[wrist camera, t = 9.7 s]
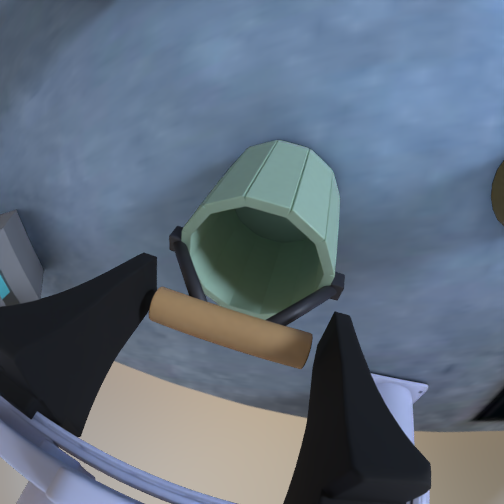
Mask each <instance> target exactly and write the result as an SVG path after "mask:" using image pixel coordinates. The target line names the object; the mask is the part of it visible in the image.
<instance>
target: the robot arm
mask: <svg viewBox="0 0 504 504" xmlns="http://www.w3.org/2000/svg"><path fill="white" fill-rule="evenodd" d="M156 291H157V257H155V256H152V255H149V254H146V253H142V254H140V255H138V256H136V257H134V258H132V259H130V260H128V261H126V262H125V263H123V264H121V265H119V266H117V267H115V268H113V269H111V270H110V271H108V272H106V273H104V274H102V275H100V276H98V277H96V278H94V279H92V280H89V281H87V282H85V283H83V284H81V285H79V286H76V287H74V288H72V289H69V290H66V291H64V292H61V293H58V294H55V295H52V296H49V297H45V298H42V299H39V300H35V301H31V302H26V303H22V304H16V305H10V306H2V307H0V457H1V458H2V459H3V460H5V461H6V462H7V463H8V464H9V465H10V466H12V467H13V468H14V469H15V470H16V471H18V472H19V473H20V474H21V475H22V476H24V477H25V478H26V479H28V480H29V482H28V483H27V485H26V487H25V489H24V490H23V492H22V494H21V496H20V498H19V499H18V501H17V503H16V504H144V503H142V502H139V501H137V500H135V499H133V498H131V497H128V496H126V495H124V494H122V493H120V492H118V491H116V490H114V489H111V488H110V487H108V486H106V485H104V484H102V483H100V482H98V481H96V480H95V477H94V476H93V475H91V474H90V473H89V472H87V471H86V470H85V469H84V468H83V467H82V466H81V465H80V463H79V462H78V461H76V460H75V459H73V458H72V457H70V456H69V455H68V454H66V453H65V452H63V451H62V450H61V449H63V450H65V451H66V452H68V453H69V454H71V455H73V456H74V457H76V458H77V459H79V460H81V461H83V462H84V463H86V464H88V465H90V466H91V467H93V468H95V469H97V470H99V471H101V472H103V473H104V474H106V475H108V476H110V477H112V478H114V479H116V480H118V481H120V482H122V483H124V484H126V485H129V486H131V487H133V488H135V489H137V490H140V491H142V492H144V493H146V494H149V495H151V496H154V497H156V498H159V499H161V500H164V501H166V502H169V503H171V504H237V503H233V502H230V501H226V500H222V499H219V498H215V497H212V496H209V495H206V494H202V493H199V492H196V491H193V490H191V489H188V488H185V487H182V486H179V485H177V484H174V483H171V482H169V481H166V480H164V479H161V478H159V477H156V476H154V475H151V474H149V473H147V472H145V471H142V470H140V469H138V468H136V467H133V466H131V465H129V464H127V463H125V462H123V461H121V460H119V459H117V458H115V457H113V456H111V455H109V454H107V453H105V452H103V451H101V450H99V449H97V448H96V447H94V446H92V445H90V444H88V443H86V442H85V441H83V440H81V439H80V438H78V437H80V436H81V434H82V431H83V428H84V426H85V423H86V420H87V417H88V415H89V412H90V410H91V407H92V405H93V402H94V400H95V398H96V396H97V393H98V391H99V389H100V387H101V385H102V383H103V381H104V379H105V377H106V375H107V373H108V371H109V369H110V367H111V365H112V363H113V362H114V360H115V358H116V357H117V355H118V353H119V352H120V350H121V349H122V348H123V346H124V345H125V343H126V342H127V341H128V339H129V338H130V336H131V335H132V334H133V332H134V331H135V330H136V328H137V327H138V325H139V324H140V323H141V321H142V320H143V318H144V317H145V315H146V314H147V312H148V310H149V308H150V304H151V301H152V298H153V296H154V294H155V292H156ZM427 390H428V385H427V384H423V383H417V382H412V381H407V380H401V379H396V378H391V377H387V376H382V375H377V374H373V373H370V370H369V368H368V366H367V363H366V360H365V358H364V355H363V353H362V350H361V347H360V344H359V342H358V339H357V336H356V333H355V330H354V327H353V323H352V320H351V318H350V316H349V315H346V314H342V313H338V312H334V314H333V316H332V318H331V320H330V322H329V324H328V326H327V328H326V330H325V332H324V334H323V336H322V338H321V339H320V341H319V343H318V345H317V350H316V354H315V359H314V364H313V370H312V380H311V390H310V400H309V410H308V418H307V424H306V429H305V434H304V438H303V441H302V446H301V449H300V453H299V457H298V460H297V464H296V468H295V471H294V474H293V477H292V480H291V483H290V486H289V490H288V492H287V495H286V498H285V500H284V503H283V504H429V490H430V488H431V466H430V463H429V461H428V460H427V459H426V458H425V457H424V456H423V455H422V454H421V453H420V451H419V450H418V449H417V448H416V447H415V446H414V423H413V407H412V404H414V403H415V402H416V401H417V400H418V399H419V398H420V397H421V396H422V395H423V394H424V393H425V392H426V391H427ZM59 447H60V448H61V449H59Z"/></svg>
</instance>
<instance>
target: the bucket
mask: <svg viewBox="0 0 504 504" xmlns="http://www.w3.org/2000/svg"><path fill="white" fill-rule="evenodd" d="M339 210H340V195H339V191H338V187H337V183H336V179H335V176H334V172H333V171H332V169H331V168H330V167H329V166H328V165H327V164H326V163H325V162H324V161H323V160H322V159H321V158H320V157H319V156H318V155H317V154H316V153H314V152H313V151H312V150H311V149H310V150H309V148H307V147H304V146H300V145H296V144H293V143H289V142H285V141H281V140H279V141H278V140H274V141H271V142H267V143H263V144H259V145H255V146H252V147H249V148H247V149H246V150H245V151H244V153H243V154H242V155H241V156H240V157H239V158H238V159H237V160H236V161H235V162H234V164H233V165H232V166H231V167H230V168H229V169H228V171H227V172H226V173H225V174H224V176H223V177H222V178H221V179H220V181H219V182H218V183H217V184H216V186H215V187H214V188H213V189H212V191H211V192H210V193H209V194H208V196H207V197H206V198H205V200H204V201H203V202H202V203H201V205H200V206H199V207H198V209H197V210H196V211H195V213H194V214H193V215H192V217H191V218H190V219H189V221H188V222H187V223H186V224H185V226H184V227H180V226H177V227H176V228H175V229H174V231H173V232H172V233H171V235H170V236H169V241H170V250H171V251H175V253H176V256H177V259H178V263H179V266H180V269H181V272H182V275H183V278H184V281H185V284H186V287H187V290H188V293H189V296H188V295H185V294H182V293H179V292H176V291H174V290H171V289H168V288H165V287H160V288H159V289H158V290H157V291H156V292H155V294H154V296H153V298H152V301H151V304H150V308H149V318H150V320H152V321H154V322H156V323H159V324H162V325H164V326H167V327H170V328H172V329H175V330H178V331H181V332H183V333H186V334H189V335H192V336H195V337H197V338H200V339H203V340H206V341H209V342H212V343H215V344H218V345H221V346H224V347H227V348H230V349H233V350H236V351H240V352H243V353H246V354H249V355H253V356H256V357H259V358H263V359H266V360H269V361H273V362H276V363H280V364H284V365H287V366H291V367H294V368H298V369H302V368H303V367H304V365H305V363H306V361H307V358H308V356H309V352H310V349H311V345H312V334H311V333H308V332H304V331H301V330H297V329H294V328H290V327H287V326H286V325H288V324H290V323H291V322H293V321H294V320H296V319H298V318H299V317H301V316H303V315H304V314H306V313H307V312H309V311H311V310H312V309H314V308H315V307H317V306H319V305H320V304H322V303H323V302H325V301H326V300H328V299H329V298H330V299H333V300H338V298H339V297H340V295H341V293H342V291H343V289H344V279H345V275H344V274H340V273H337V272H335V267H336V255H337V242H338V227H339ZM205 295H206V296H208V297H209V298H210V299H212V300H213V301H215V302H216V303H217V304H219V305H220V306H218V305H215V304H212V303H209V302H207V299H206V296H205Z"/></svg>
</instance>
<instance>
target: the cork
mask: <svg viewBox="0 0 504 504" xmlns="http://www.w3.org/2000/svg"><path fill="white" fill-rule="evenodd" d="M491 200H492V207H493V211H494V213H495V215H496V217H497V220H498V221H499V222H500V223H501V224H502V225H503V226H504V161H503V162H502V164H501V165H500V167H499V168H498V170H497V172H496V175H495V178H494V181H493V183H492V193H491Z"/></svg>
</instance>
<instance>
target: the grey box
mask: <svg viewBox="0 0 504 504" xmlns="http://www.w3.org/2000/svg"><path fill="white" fill-rule="evenodd" d="M43 273H44V269H43V267H42V265H41V263H40V261H39V259H38V257H37V255H36V253H35V251H34V249H33V247H32V245H31V242H30V240H29V238H28V236H27V234H26V231H25V229H24V227H23V224H22V222H21V220H20V217H19V215H18V212H17V210H13V211H10V212H7V213H4V214H1V215H0V307H2V306H10V305H16V304H22V303H26V302H31V301H35V300H39V299H41V290H42V281H43Z"/></svg>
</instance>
